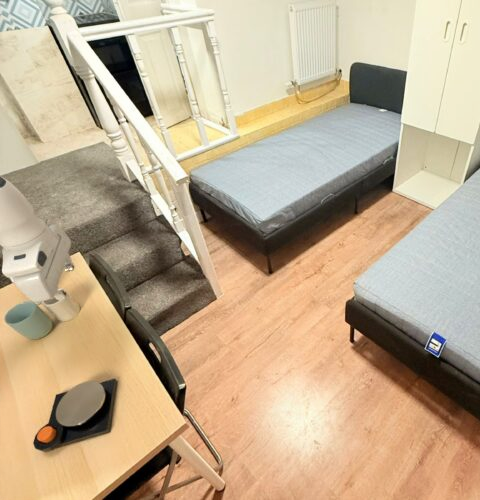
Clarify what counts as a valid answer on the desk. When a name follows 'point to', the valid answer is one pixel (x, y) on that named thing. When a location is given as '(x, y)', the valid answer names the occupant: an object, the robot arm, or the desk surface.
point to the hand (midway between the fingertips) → (66, 282)
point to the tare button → (46, 434)
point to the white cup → (62, 307)
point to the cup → (29, 320)
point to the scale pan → (80, 404)
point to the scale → (85, 431)
